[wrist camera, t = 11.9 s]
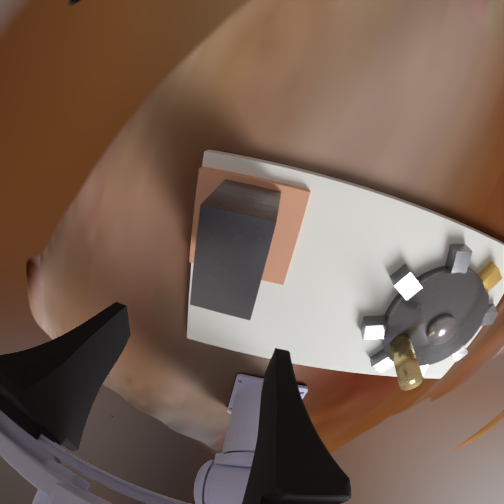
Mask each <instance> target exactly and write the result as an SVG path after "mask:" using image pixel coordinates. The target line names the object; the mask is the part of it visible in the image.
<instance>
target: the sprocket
mask: <svg viewBox="0 0 504 504" xmlns="http://www.w3.org/2000/svg"><path fill="white" fill-rule="evenodd" d="M471 255H472V250H471V249H470V248H469V247H468V246H467V245H466V244H450V247H449V251H448V256H447V260H446V264H445V266H441V267H437V268H435V269H432V270H430V271H428V272H426V273H424V274H422V275H420V276H419V277H416V276H415V275H414V274H413V272H412V271H411V270H410V269H409V267H408V266H407V265H406V264H404V265H403V266H402V267H401V268H399V269H398V270H397V271H396V272H395V273H393V274H392V275H391V276H390V279H391V281H392V283H393V285H394V287H395V288H396V289H397V290H398V291H399V292H400V293H399V294H398V295H397V296H396V297H395V298H394V300H393V301H392V302H391V304H390V305H389V307H388V309H387V311H386V313H385V315H379V316H363V321H362V326H361V335H362V340H374V339H381V340H382V343H383V347H384V349H382V350H381V351H379V352H378V353H376V354H374V355H373V356H371V357H370V362H371V367H372V368H373V369H375V370H376V371H378V372H379V373H381V372H383V371H385V370H386V369H388V368H390V367H391V366H393V365H394V366H395V370H396V374H397V378H398V382H399V386H400V389H402V390H410V389H413V388H415V387H417V386H419V385H420V384H421V383H422V381H423V379H424V378H423V375H424V373H425V371H426V370H427V368H428V366H429V365H431V364H435V363H437V362H440V361H442V360H444V359H446V358H448V357H450V356H451V355H452V356H453V358H454V359H455V360H456V362H457V361H458V360H460V359H461V358H462V357H464V356H465V355H466V354H468V351H467V349H466V347H465V345H466V344H467V343H468V342H469V341H470V340H471V338H472V337H473V336H474V335H475V334H476V332H477V331H478V329H479V328H480V326H485V325H490V324H493V322H494V320H495V318H496V316H497V314H498V312H499V311H498V309H497V308H496V307H495V305H494V304H489V294H488V292H489V291H490V290H491V289H492V288H493V287H494V286H495V285H496V284H497V283H498V282H499V281H500V280H501V279H502V276H501V274H500V271H499V268H498V267H497V266H496V265H495V264H494V263H493V262H492V260H491V261H490V262H489V263H488V264H487V265H486V266H485V267H484V268H483V269H482V270H481V271H480V272H479V273H478V274H477V273H476V272H475V271H474V270H472V269H471V268H469V267H468V266H469V262H470V259H471Z"/></svg>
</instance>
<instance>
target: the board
mask: <svg viewBox="0 0 504 504" xmlns="http://www.w3.org/2000/svg"><path fill="white" fill-rule="evenodd" d="M225 179H228V180H233V181H238V182H242V183H247V184H251V185H255V186H260V187H264V188H268V189H272V190H276V191H280V192H281V197H280V203H279V210H278V216H277V222H276V226H275V230H274V234H273V238H272V241H271V245H270V249H269V253H268V257H267V260H266V264H265V268H264V272H263V275H262V279H261V283H260V286H259V290H258V294H257V298H256V301H255V305H254V309H253V312H252V316H251V319H250V320H246V319H242V318H238V317H234V316H230V315H227V314H223V313H219V312H215V311H212V310H208V309H204V308H201V307H197V306H193V305H190V298H191V286H192V275H193V265H194V255H195V246H196V237H197V228H198V220H199V212H200V205H201V204H202V203H203V201H204V200H205V199H206V198H207V197H208V196H209V195H210V194H211V193H212V192H213V191H214V190H215V189H216V188H217V187H218V186H219V185H220V184H221V183H222V182H223V181H224V180H225ZM450 244H466V245H467V246H468V247H469V248H470V249H471V250H472V255H471V259H470V262H469V266H468V267H469V268H471V269H472V270H474V271H475V272H476V273H477V274H478V273H479V272H480V271H481V270H482V269H483V268H484V267H485V266H486V265H487V264H488V263H489V262H490V261H491V260H492V262H493V263H494V264H495V265H496V266H497V267H498V268H499V271H500V274H501V276H502V279H501V280H500V281H499V282H498V283H497V284H496V285H495V286H494V287H493V288H492V289H491V290H490V291H489V292H488V294H489V304H494V305H495V307H496V305H497V304H498V302H499V301H500V299H501V297H502V296H503V294H504V243H503V242H502V241H500V240H498V239H496V238H493V237H491V236H489V235H487V234H485V233H483V232H481V231H479V230H477V229H474V228H472V227H470V226H468V225H466V224H463V223H461V222H459V221H456V220H454V219H452V218H449V217H447V216H445V215H442V214H440V213H437V212H435V211H432V210H430V209H427V208H424V207H422V206H419V205H417V204H414V203H411V202H408V201H406V200H403V199H400V198H397V197H394V196H392V195H389V194H386V193H383V192H380V191H377V190H374V189H371V188H368V187H364V186H361V185H358V184H355V183H351V182H348V181H345V180H341V179H338V178H334V177H331V176H327V175H324V174H320V173H316V172H312V171H308V170H305V169H301V168H297V167H293V166H288V165H284V164H280V163H276V162H271V161H267V160H262V159H257V158H252V157H248V156H242V155H237V154H232V153H227V152H221V151H215V150H209V149H208V150H206V151H204V156H203V163H202V167H200V168H199V173H198V181H197V189H196V197H195V206H194V215H193V225H192V235H191V246H190V258H189V262H190V263H191V274H190V288H189V304H188V323H187V338H188V339H192V340H195V341H199V342H202V343H206V344H210V345H213V346H217V347H221V348H225V349H229V350H233V351H237V352H241V353H246V354H250V355H254V356H259V357H264V358H268V359H271V358H272V355H273V353H274V350H275V348H278V349H283V350H287V351H289V352H290V356H291V361H292V363H294V364H300V365H306V366H312V367H318V368H324V369H331V370H338V371H346V372H354V373H363V374H372V375H383V376H396V377H397V374H396V370H395V366H394V365H393V366H391V367H390V368H388V369H386V370H385V371H383V372H381V373H379V372H378V371H376V370H375V369H373V368H372V367H371V362H370V357H371V356H373V355H374V354H376V353H378V352H379V351H381V350H382V349H384V347H383V343H382V340H381V339H374V340H362V335H361V326H362V321H363V316H379V315H385V313H386V311H387V309H388V307H389V305H390V304H391V302H392V301H393V300H394V298H395V297H396V296H397V295H398V294H399V293H400V292H399V291H398V290H397V289H396V288H395V287H394V285H393V283H392V281H391V279H390V276H391V275H392V274H393V273H395V272H396V271H397V270H398V269H399V268H401V267H402V266H403V265H404V264H406V265H407V266H408V267H409V269H410V270H411V271H412V272H413V274H414V275H415V276H416V277H419V276H420V275H422V274H424V273H426V272H428V271H430V270H432V269H435V268H437V267H441V266H445V264H446V260H447V256H448V251H449V247H450ZM481 328H482V326H480V328H479V329H478V331H477V332H476V334H475V335H474V336H473V337H472V338H471V340H470V341H469V342H468V343H467V344H466V345H465V347H466V348H467V347H468V346H469V344H470V343H471V342H472V340H473V339H474V338H475V336H476V335H477V334H478V332H479V331H480V329H481ZM455 362H456V360H455V359H454V358H453V356H452V355H451V356H450V357H448V358H446V359H444V360H442V361H440V362H437V363H435V364H431V365H429V366H428V368H427V370H426V371H425V373H424V375H423V378H438V379H441V378H442V377H443V375H444V374H445V373H446V372H447V371H448V370H449V369H450V367H451V366H452V365H453V364H454V363H455Z"/></svg>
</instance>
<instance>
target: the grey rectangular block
mask: <svg viewBox="0 0 504 504" xmlns="http://www.w3.org/2000/svg"><path fill="white" fill-rule="evenodd" d="M280 197H281V192H280V191H276V190H272V189H268V188H264V187H260V186H255V185H251V184H247V183H242V182H238V181H233V180H228V179H225V180H224V181H223V182H222V183H221V184H220V185H219V186H218V187H217V188H216V189H215V190H214V191H213V192H212V193H211V194H210V195H209V196H208V197H207V198H206V199H205V200H204V201H203V203H202V204H201V205H200V212H199V220H198V228H197V237H196V246H195V255H194V265H193V275H192V286H191V298H190V305H193V306H197V307H201V308H204V309H208V310H212V311H215V312H219V313H223V314H227V315H230V316H234V317H238V318H242V319H246V320H250V319H251V316H252V312H253V309H254V305H255V301H256V298H257V294H258V290H259V286H260V283H261V279H262V275H263V272H264V268H265V264H266V260H267V257H268V253H269V249H270V245H271V241H272V238H273V234H274V230H275V226H276V222H277V216H278V210H279V203H280Z"/></svg>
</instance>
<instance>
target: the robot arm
mask: <svg viewBox="0 0 504 504" xmlns="http://www.w3.org/2000/svg"><path fill="white" fill-rule="evenodd" d="M129 337H130V328H129V321H128V313H127V306H126V305H123V304H120V303H117V302H115V303H114V304H112V305H111V306H109V307H108V308H106V309H104V310H103V311H101V312H100V313H98V314H97V315H95V316H94V317H92V318H91V319H89V320H88V321H86V322H84V323H83V324H81V325H80V326H78V327H76V328H75V329H73V330H71V331H69V332H68V333H66V334H64V335H62V336H60V337H58V338H56V339H54V340H52V341H49V342H47V343H44V344H42V345H39V346H36V347H33V348H30V349H27V350H24V351H20V352H15V353H10V354H4V355H0V455H1V456H2V457H3V458H4V459H5V460H6V461H7V462H8V463H9V464H10V465H11V466H12V467H13V468H14V469H15V470H16V471H17V472H19V473H20V474H21V475H22V476H23V477H24V478H25V479H27V480H28V481H29V482H30V483H31V484H32V485H34V486H35V487H36V488H37V489H38V491H37V493H36V496H35V498H34V500H33V502H32V504H111V503H109V502H108V501H105V500H103V499H101V498H99V497H97V496H95V495H93V494H91V493H90V492H88V488H89V486H90V484H89V483H88V482H87V481H85V480H83V479H82V478H80V477H79V476H77V475H76V474H74V473H73V472H71V471H70V470H68V469H66V468H65V467H63V466H62V465H61V462H60V461H62V462H63V463H65V464H67V465H68V466H70V467H72V468H73V469H75V470H77V471H79V472H80V473H82V474H84V475H85V476H87V477H89V478H91V479H93V480H95V481H97V482H99V483H101V484H103V485H105V486H107V487H109V488H111V489H113V490H115V491H118V492H120V493H122V494H124V495H127V496H129V497H131V498H134V499H136V500H139V501H142V502H144V503H147V504H190V503H186V502H183V501H179V500H176V499H173V498H169V497H166V496H163V495H160V494H157V493H154V492H151V491H149V490H146V489H144V488H141V487H138V486H136V485H133V484H131V483H128V482H126V481H124V480H122V479H119V478H117V477H115V476H113V475H111V474H109V473H107V472H104V471H102V470H100V469H98V468H97V467H95V466H93V465H91V464H89V463H87V462H85V461H83V460H81V459H80V458H78V457H76V456H75V455H73V454H71V453H70V452H68V451H66V450H65V449H63V448H62V447H60V446H58V445H57V444H55V442H56V443H58V444H59V445H63V446H65V447H66V448H68V449H69V450H71V451H76V450H78V449H79V444H80V441H81V437H82V433H83V430H84V427H85V423H86V420H87V418H88V415H89V412H90V410H91V407H92V404H93V402H94V400H95V398H96V396H97V393H98V391H99V389H100V387H101V385H102V384H103V382H104V380H105V379H106V377H107V375H108V374H109V372H110V371H111V369H112V367H113V366H114V364H115V363H116V361H117V360H118V358H119V356H120V355H121V353H122V351H123V349H124V347H125V345H126V343H127V341H128V339H129ZM307 391H308V387H307V386H302V385H297V382H296V378H295V374H294V370H293V366H292V361H291V356H290V352H289V351H287V350H283V349H278V348H275V350H274V353H273V355H272V358H271V360H270V362H269V365H268V367H267V370H266V372H265V376H264V379H263V378H258V377H254V376H249V375H244V374H238V375H237V377H236V381H235V384H234V388H233V392H232V395H231V399H230V402H229V406H228V410H227V412H228V413H231V416H230V420H229V425H228V429H227V433H226V438H225V442H224V446H223V450H222V454H220V453H216V456H215V460H209V461H208V462H207V463H205V464H204V465H203V466H202V467H201V468H200V470H199V472H198V474H197V477H196V480H195V485H194V499H195V503H196V504H340V503H343V502H346V501H348V500H349V499H350V498H351V486H350V480H349V478H348V476H347V475H346V474H345V473H344V472H343V471H342V469H341V468H340V467H339V466H338V464H337V463H336V462H335V461H334V459H333V458H332V456H331V455H330V453H329V452H328V450H327V449H326V447H325V445H324V444H323V442H322V441H321V439H320V437H319V435H318V434H317V432H316V430H315V428H314V426H313V424H312V422H311V420H310V417H309V415H308V413H307V410H306V408H305V405H304V403H303V400H302V399H303V397H304V396H305V394H306V393H307Z"/></svg>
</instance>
